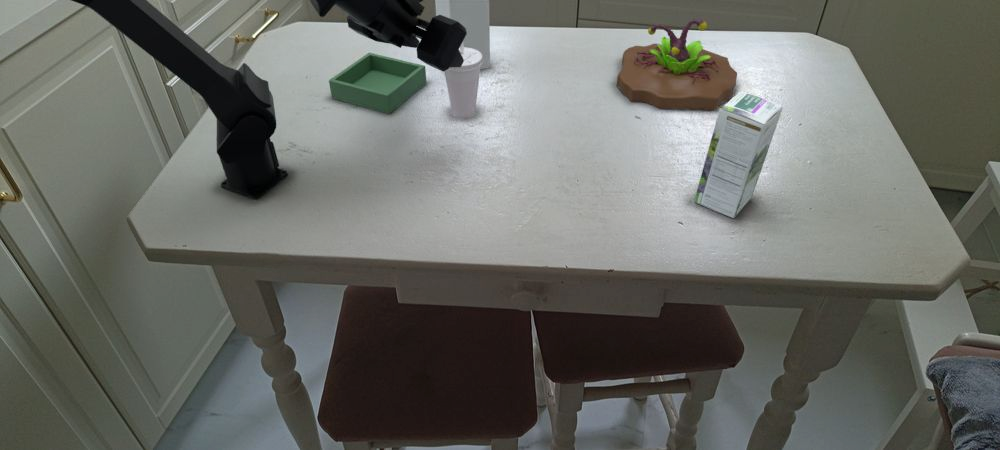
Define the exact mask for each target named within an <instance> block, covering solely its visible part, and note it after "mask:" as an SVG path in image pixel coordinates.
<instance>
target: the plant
mask: <svg viewBox="0 0 1000 450" xmlns="http://www.w3.org/2000/svg"><path fill="white" fill-rule="evenodd" d="M694 24H695V25H696V27H697V29H698V30H699V31H701V32H703V31H706V29H708V24H707V22H706V21H704V20H703V19H699V18H697V19H695V18H693V19H692V20H690V21H689V22H688V23H687V24H686V25H684V28H683V29H682V30H681V33H680V36H679V37H677V36H676V34H675V32H674V31H673V30H672V28H669V27H668V26H666V25H664V24H655V25H651V26H650V27H649V28H648V29H647V33H648V34H649V35H650V36H652V35H654V34H656V31H657V29H661V30H663V31H665V32H666V33H667V36H668V37H669V38H667V37H666V36H663V37H661V43H652V44H649V45H643V46H642V45H634V46H631V47H628V48H627V49H625V50H624V51H623V53H622V59H621V69H620V71H619V72H618V73H617V77H616V86H617V87H618V88H619V90H620V92H621V93H622V94H623V95H624V96H626V97H627V98H628V99H629V101H630V102H633V103H634V102H640V103H645V104H646V103H647V104H649V105H651V106H654V107H655V108H658V109H664V110H665V109H671V110H672V109H673V110H701V111H702V110H703V111H715V110H716V109H718V108H719V106H721V105H722V104H723V103H725V102H728V101H730V100H731V99H732V97H733V95H734V92H735V89H736V83H737V77H738V72H737V71H736V70H735V69H734V68H732V66H731V65H730V61H729V58H728V57H726V56H724V55H720V54H717V53H715V52H712V51H709V50H707V49H704V46H703V45H702V41H701V40H694V41H692V42H690V43H689V44H687V37H688V33H689V30H690V28H691V27H692V25H694Z"/></svg>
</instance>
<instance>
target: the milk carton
mask: <svg viewBox="0 0 1000 450" xmlns="http://www.w3.org/2000/svg"><path fill="white" fill-rule="evenodd" d="M434 3H435V4H434V5H435V16H438V15H442V16H445V17H447V18H450V19H453V20H455V21H458V22H459V23H460V24H461V25H463V26H464V27H465V28H466V31H467V34H466V36H465V38H464V40H463V46H464V47H467V48H472V49H475V50H478V51H479V52H480V53H481V54H482V60H483V63H482V65H481V66H480V70H483V69H488V68H491V49H490V48H491V38H490V37H491V36H490V35H491V33H490V31H491V30H490V27H491V26H490V25H491V23H490V0H434Z"/></svg>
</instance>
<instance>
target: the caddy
mask: <svg viewBox="0 0 1000 450" xmlns="http://www.w3.org/2000/svg"><path fill="white" fill-rule="evenodd" d="M426 71H427V70H426V65H423V64H420V63H415V62H411V61H407V60H402V59H398V58H393V57H390V56H387V55H386V56H385V55H381V54H377V53H372V52H368V53H366V54H365V55H363V56H362V57H360V58H358V60H356V61H355V62H353V63H352V64H350V65H348V66H347V67H346V68H344V69H342V71H340V72H339V73H337V74H335V75H334V76H333V77H331V78H330V79H328V84H329V89H330V95H331V99H332V100H336V101H340V102H344V103H348V104H351V105H355V106H359V107H362V108H365V109H366V108H367V109H370V110H373V111H377V112H380V113H385V114H389V115H391V114H392V113H393V112H394V111H395V110H397V109H398V108H399V107H400V106H401V105H402V104H404V103H405V102H406V101H407V100H408V99H410V98H411V97H412V96H414V95H415V94H416V93H417V92H418V91H419V90H420V89H422V88H423V87H425V85H427V72H426Z"/></svg>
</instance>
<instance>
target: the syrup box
mask: <svg viewBox="0 0 1000 450" xmlns="http://www.w3.org/2000/svg"><path fill="white" fill-rule="evenodd" d="M783 109H784V107H783V106H782V105H781V104H778V103H776V102H774V101H772V100H770V99H767V98H765V97H762V96H759V95H756V94H753V93H749V92H745V91H738V92H737V93H736V94H735V95H734V96H732V97H731V98H730V99H729V100H728V101H727V102H726V103H725V104H724V105H723V106H722V107H721V108H719V111H718V112H717V113H718V114H717V118H716V121H715V125H714V128H713V132H712V134H711V135H712V136H711V138H710V142H709V146H708V150H707V153H706V157H705V160H704V164H703V167H702V170H701V171H702V172H701V174H700V178H699V182H698V185H697V189H696V193H695V196H694V200H693V201H694V203H696V204H698V205H700V206H703V207H705V208H708V209H709V210H712V211H713V212H716V213H720V214H721V215H723V216H727V217H730V218H731V219H735V218H736V217H737V216H738V214H739V213H740V212H741V211H742V209H744V207H745V206H746V205H747V204H748V203H749V201H750V200H751V199H752V198H753V195H754V192H755V189H756V186H757V185H758V181H759V178H760V175H761V172H762V169H763V166H764V164H765V160H766V158H767V155H768V152H769V149H770V146H771V143H772V140H773V137H774V135H775V132H776V129H777V126H778V123H779V119H780V118H781V114H782V112H783Z"/></svg>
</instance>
